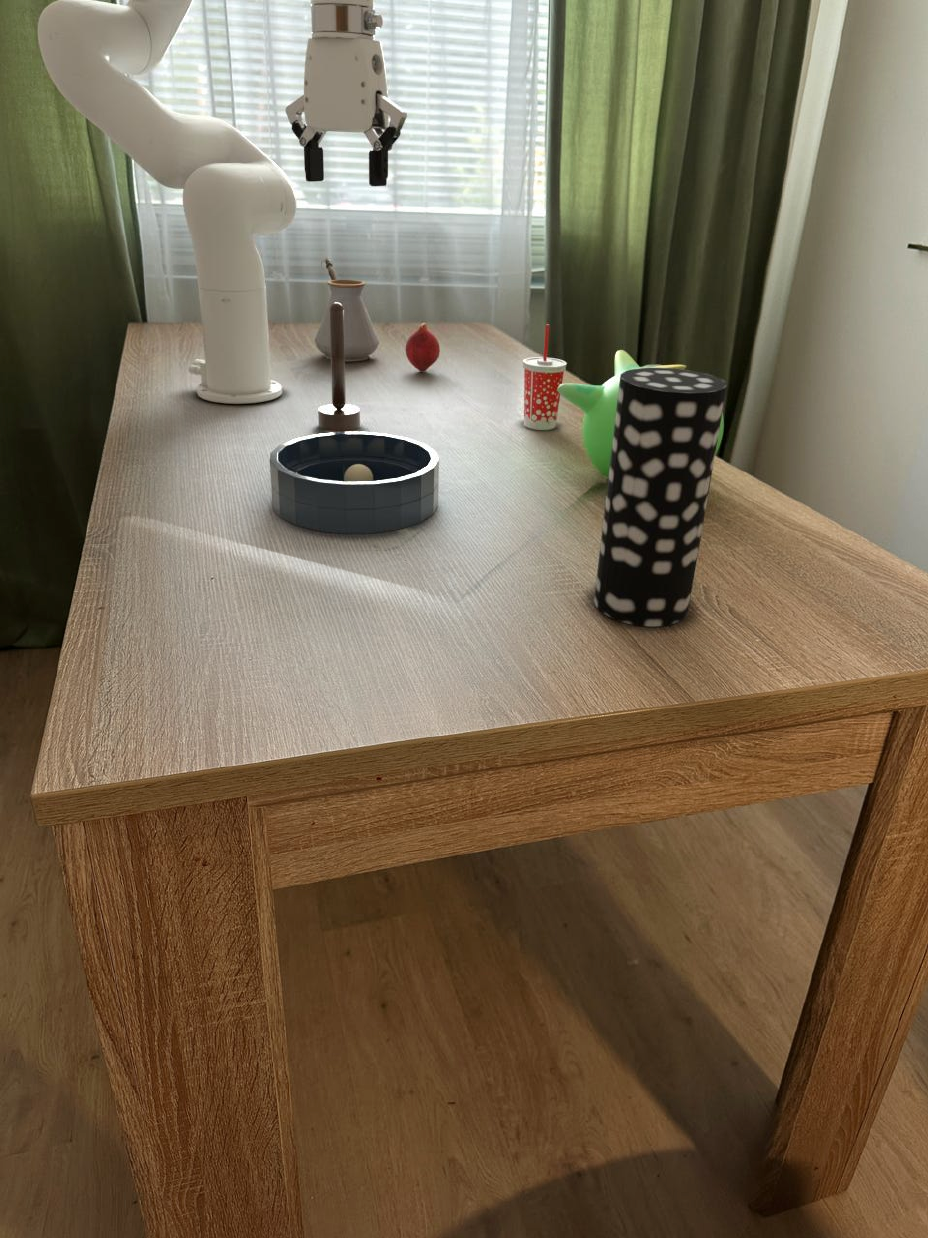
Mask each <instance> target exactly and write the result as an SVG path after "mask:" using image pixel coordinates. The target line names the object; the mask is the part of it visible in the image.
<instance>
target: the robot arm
mask: <svg viewBox="0 0 928 1238" xmlns="http://www.w3.org/2000/svg"><path fill="white" fill-rule="evenodd" d="M193 3H194V0H128V1H127V3H126V5H123V4H119V3H117V4H116V3H111V2H105V1H99V0H55V1H52V2H51V3H50V4H48V5H47V6H46V7H44V9H43V10H42V12H41V13H40V15H39V19H38V22H37V41H38V46H39V50H40V54H41V58H42V61H43V63H44V66H45V68H46V71H47V73H48V75H49V77H50V79H51V80H52V82H53V84H54V85H55V87H56V88H57V90H58V91H59V93H60V94H61V95H62V96H63V98H64V99H65V100H66V101H67V102H68V103H69V104H70V105H71V107H73V108H74V109H75V110H76V111H77V112H79V113H80V115H82V116H83V117H84V118H85V119H86V120H88V121H89V122H90V123H92V124H93V126H95V127H96V128H98V129H99V130H100V131H101V132H103V134H105V135H106V136H107V137H108V138H109V139H110V140H111V141H112V142H113V143H114V144H116V146H117V147H119V149H121V150H122V151H123V152H124V153H125V154H126V155H127V156H128V157H129V158H131V159H132V160H133V162H134V163H136V164H137V165H138V166H139V167H140V168H141V169H143V171H145V172H146V173H147V174H148V175H149V176H151V178H153V180H155V181H156V182H157V183H159V184H160V185H162V186H164V187H165V188H168V189H176V190H182V207H183V211H184V216H185V220H186V224H187V227H188V230H189V234H190V239H191V243H192V249H193V253H194V260H195V269H196V279H197V287H198V297H199V300H198V301H199V308H200V309H199V310H200V320H201V332H202V342H203V354H204V359H200V358H199V359H198V358H196V359H194V360H193V362H192V364H190V365H189V367H188V372H189V374H190V375H195V376H200V378H201V383H199V384H198V385H197V386H196V393H197V396H198V397H199V398H201V399H202V400H205V401H208V402H211V403H217V404H227V405H229V404H230V405H232V404H233V405H244V404H257V403H258V404H259V403H264V402H268V401H272V400H275V399H277V398H279V397H280V396H281V395H282V394H283V386H282V385H281V384H280V383H279V382H277V381H275V380H272V372H271V371H272V369H271V355H270V337H269V321H268V303H267V287H266V275H265V269H264V268H265V267H264V263H263V260H262V257H261V255H260V252H259V250H258V248H257V245H256V243H255V240H254V238H253V237H257V236H266V235H272V234H276V233H277V234H278V233H279V232H282V231H283V230H285V229H286V228H287V227H288V226H290V225H291V223H292V222H293V220H294V218H295V216H296V213H297V212H296V211H297V197H296V192H295V189H294V187H293V185H292V182H291V180H290V179H289V177H288V175H287V174H286V173H285V172H284V170H283V169H282V168H281V167H280V166H279V165H277V164H276V162H274V161H273V160H272V159H271V158H270V157H269V156H268V155H267V154H265V152H263V151H262V150H261V149H260V148H258V147H257V146H256V144H254V143H253V142H252V141H250V139H248V137H246V136H245V135H244V134H243V133H242V132H240V131H239V130H238V129H237V128H236V127H234V126H233V125H232V124H230V123H228V122H227V121H225V120H223V119H221V118H217V117H213V116H210V115H201V114H188V113H187V114H186V113H181V112H177V111H174V110H172V109H171V108H169V107H168V106H166V104H164V103H162V102H161V101H160V100H159V99H157V98H156V97H155V96H154V95H153V94H152V93H151V92H150V91H149V90H148V89H147V88H146V87H145V86H144V85H142V84H141V83H139V82H137V81H136V80H134V79H133V78H131V77H129V76H142V75H147V74H149V73H151V72H152V71H154V70H155V69H157V67H158V65H160V64H161V62H162V60H163V59H164V57H165V56H166V54H167V52H168V50H169V49H170V46H171V45H172V43H173V41H174V40H175V38H176V35H177V33H178V32H179V30H180V28H181V26H182V25H183V22H184V21H185V18H186V17H187V15H188V13H189V11H190V9H191V7H192V5H193ZM310 20H311V22H310V23H311V38H308V39H307V43H306V45H307V46H306V52H305V60H304V61H305V62H304V74H303V75H304V76H303V94H302V95H301V96H299V97H298V98H296V100H294V101H293V102H291V103H290V104H289V105H288V106H286V107H285V114H286V116H287V119H288V121H289V124H290V125H291V131H292V133H293V134H294V135H295V137H296V138H297V140H298V143H299V145H300V147H302V148H303V161H304V163H303V164H304V165H303V167H304V173H305V181H306V182H309V183H312V182H324V179H325V169H324V168H325V167H324V165H325V164H324V149H323V146H319V145H320V144H321V142H322V140H323V138H324V137H325V135H327V132H337V133H339V132H340V133H361V134H364V135H365V137H366V139H367V140H368V142H369V143H370V145H371V147H372V150H369V152H368V184H369V186H371V187H386V186H387V183H388V177H389V152H390V151H392V149H393V145H394V144H395V142H396V141H397V140H398V139H399V137H400V136H401V133H402V132H401V131H402V129H403V127H404V125H405V123H406V120H407V117H408V113H407V111H406V110H405V109H403V108H402V107H401V106H399V105H398V104H396V103H395V102H394V101H392V100H391V99H389V95H388V82H387V81H388V80H387V72H386V70H387V69H386V64H385V59H384V58H385V57H384V52H383V47H382V42H381V41H380V40H376V39H375V36H376V29H381V28H382V27H383V23H384V22H383V17H382V15H381V14H376V9H375V0H310ZM303 113H304V121H305V123H304V121H303V116H302V115H303ZM389 118H390V119H389Z"/></svg>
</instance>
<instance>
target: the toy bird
mask: <svg viewBox="0 0 928 1238" xmlns="http://www.w3.org/2000/svg"><path fill="white" fill-rule="evenodd" d="M613 362H614V363H613V364H614V365H613V367H614V376H612V377H610V378H609V379H608V380H607V381H605V382H604V383H603V384H601V385H595V384H584V383H572V382H569V383H568V382H567V383H562V384H561V385H560V386H559V387H558V392H559V393H560V396H562V397H563V398H564V399H565V400H567V401H568V402H569V403H571V404H573V405H574V406H575V407H577V408H579V409H580V410H582V411H583V412H584V415H583V419H582V427H581V433H582V436H581V437H582V442H583V446H584V449H585V451H586V454H587V456H588V458H589V460H590V462H591V463H592V464H593V466H594V467H595V468H596V469H597V470H598V472H600V473H601V474H602V475H603V476H604V477H605V478H607V479H608V477H609V468H610V460H611V451H612V443H613V434H614V425H615V417H616V408H617V400H618V391H619V383H620V375H621V374H622V373H623V372H625V371H628V370H632V369H639V368H673V369H683V370H686V368H687V365H685V364H666V365H665V364H664V365H662V364H646V365H643V366H640V365H639V364H638V363H637V362H636V360H635V359H634V358H633V357H632V356H631V355H630V354H629V353H628V352H627V351H626V350H624V349H619V350H617V351H616V352H615V354H614V361H613ZM723 412H724V411H723ZM723 412H722V417H721V423H720V429H719V435H718V441H717V446H716V452H715V456H716V455H717V453H718V451H719V449H720V446H721V443H722V440H723V436H724V430H725V429H724V427H725V423H724V422H725V421H724V413H723Z"/></svg>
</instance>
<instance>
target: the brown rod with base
mask: <svg viewBox="0 0 928 1238" xmlns="http://www.w3.org/2000/svg"><path fill="white" fill-rule="evenodd" d="M330 343H331V359H330V375H331V377H330V378H331V379H330V380H331V404H326V405H321V406H320V407H318V408H317V417H318V427H319V429H321V430H324V431H328V432H353V431H354V430H358V429H359V428H361V409H360V408H359V407H358V406H356V405H353V404H347V402H346V399H347V398H346V397H347V396H346V361H345V348H344V308H343V306H342V305H341V304H340V303H337V302H336V303H333V304H332V305H331V306H330Z"/></svg>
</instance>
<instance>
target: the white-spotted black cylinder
mask: <svg viewBox="0 0 928 1238" xmlns="http://www.w3.org/2000/svg"><path fill="white" fill-rule="evenodd" d="M727 387H728V384H727V382H726V381H725V380H724V379H722V378H720V377H717V376H715V375H712V374H709V373H704V372H700V371H696V370H689V369H673V368H639V369H632V370H628V371H625V372H623V373H622V374H621V375H620V383H619V391H618V400H617V408H616V417H615V425H614V434H613V443H612V451H611V460H610V468H609V477H608V478H607V486H606V493H605V494H606V495H605V503H604V511H603V519H602V520H603V521H602V528H601V537H600V545H599V555H598V564H597V571H596V580H595V588H594V589H595V590H594V596H593V603H594V605H595V607H596V608H597V610H599V611H600V612H601V613H602V614H603V615H605V616H607V617H609V618H611V619H613V620H615V621H617V622H621V623H624V624H628V625H633V626H640V627H663V626H664V627H665V626H670V625H674V624H677V623H680V622H681V621H683V620H684V619H685V618H686V617H687V615H688V614H689V609H690V603H691V597H692V592H693V585H694V580H695V575H696V570H697V569H696V568H697V562H698V557H699V550H700V546H701V545H700V544H701V538H702V533H703V528H704V522H705V516H706V510H707V504H708V499H709V493H710V486H711V481H712V476H713V471H714V464H715V458H716V455H715V452H716V446H717V441H718V435H719V429H720V423H721V417H722V412H724V404H725V400H726V394H727V392H726V391H727Z"/></svg>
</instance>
